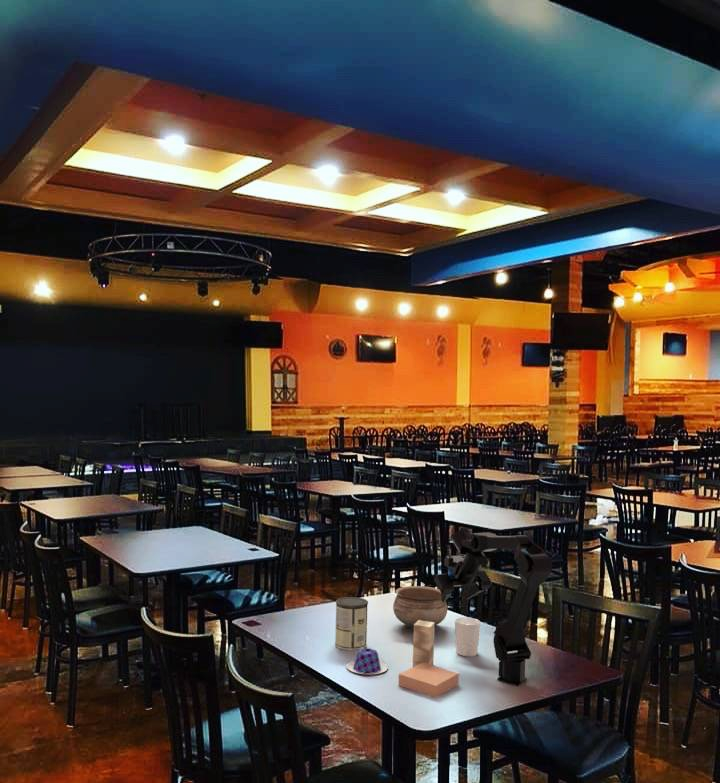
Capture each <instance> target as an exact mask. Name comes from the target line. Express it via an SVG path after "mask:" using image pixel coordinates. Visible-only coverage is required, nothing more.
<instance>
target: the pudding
mask: <svg viewBox="0 0 720 783" xmlns="http://www.w3.org/2000/svg"><path fill="white" fill-rule="evenodd" d="M379 658H380V657H379V654H378V652H377V650H376V649H374V648H366V647H365V648H364V649H360V650H357V654H356V656H355V660H351V661H350V662H348V663H347V664H346V668H347V670H349V671H351V672H353V673H356V674H360V675H365V674H364V673H366V675H368V676H369V675H377V674H382V673H384V672H386V671H387V670H388V665H387V664H386V663H384V662H382V661H380V659H379ZM381 667H382V668H383V669H381ZM376 672H378V673H376ZM371 673H372V674H371Z"/></svg>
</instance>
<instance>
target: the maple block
mask: <svg viewBox="0 0 720 783" xmlns="http://www.w3.org/2000/svg"><path fill="white" fill-rule="evenodd" d="M434 624H435V622H428V621H421V620H418V621H417V622H416V623H415V624H414V629H413V642H412V643H413V645H412V667H414V666H417V665H419V664H421V663H426V664H429V665H433V666H434V657H435V656H434V655H435V654H434V650H435V649H434V648H435V626H434Z"/></svg>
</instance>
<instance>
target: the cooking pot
mask: <svg viewBox="0 0 720 783" xmlns="http://www.w3.org/2000/svg"><path fill="white" fill-rule="evenodd" d="M395 593H396V596H395V598H394V601H393V604H392V605H393V606H392V610H393V613H394V615H395V617H396V619H398V621H399V622H401V623H402V624H404V625H405V626H407V627H409V628H410V629H411V630H414V624H415V623H416V622H417V621H418V620H421V621H428V622H435V624H434V627H436V626H438V625H439V624H441V623H442V622H443V621H444V620H445V618H446V616H447V614H448V605H447V600H446V601H445V602H442V600H441V592H440V590H439V588H435V587H431V586H424V585H422V586H421V585H412V586H411V585H410V586H409V585H408V586H403V587H399V588H397V589H396V590H395Z"/></svg>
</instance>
